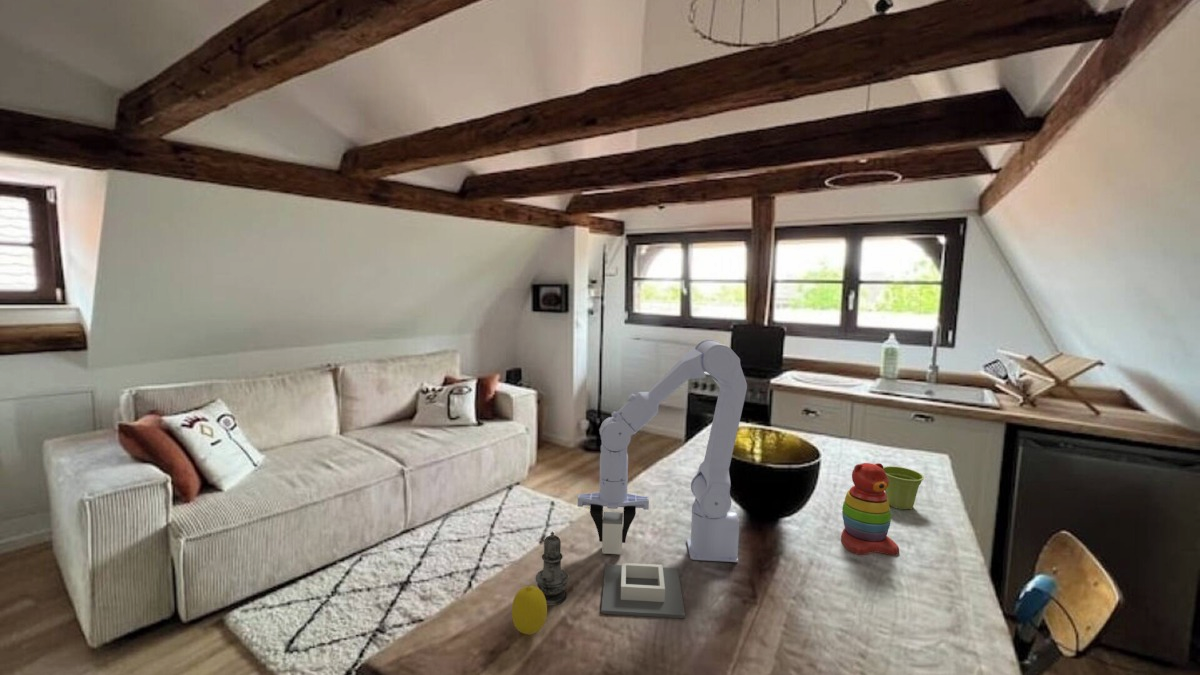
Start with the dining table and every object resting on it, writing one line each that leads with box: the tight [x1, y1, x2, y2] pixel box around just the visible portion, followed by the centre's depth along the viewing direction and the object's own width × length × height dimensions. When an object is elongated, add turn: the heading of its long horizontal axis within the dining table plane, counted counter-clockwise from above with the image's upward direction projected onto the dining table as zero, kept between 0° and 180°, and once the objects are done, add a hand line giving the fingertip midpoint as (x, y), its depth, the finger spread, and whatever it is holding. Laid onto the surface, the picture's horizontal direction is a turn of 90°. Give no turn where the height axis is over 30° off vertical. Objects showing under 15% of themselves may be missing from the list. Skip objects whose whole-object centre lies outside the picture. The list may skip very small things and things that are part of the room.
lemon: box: [511, 585, 548, 636], centre depth 79 cm, size 6×6×8 cm
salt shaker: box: [534, 531, 570, 606], centre depth 89 cm, size 6×6×12 cm
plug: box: [601, 511, 624, 555], centre depth 104 cm, size 4×4×7 cm
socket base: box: [600, 562, 686, 619], centre depth 91 cm, size 14×14×3 cm
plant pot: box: [883, 465, 925, 510], centre depth 130 cm, size 9×9×9 cm
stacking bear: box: [840, 462, 900, 556], centre depth 109 cm, size 11×10×18 cm
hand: (612, 539), depth 105 cm, fingers closed on plug, 4 cm apart
